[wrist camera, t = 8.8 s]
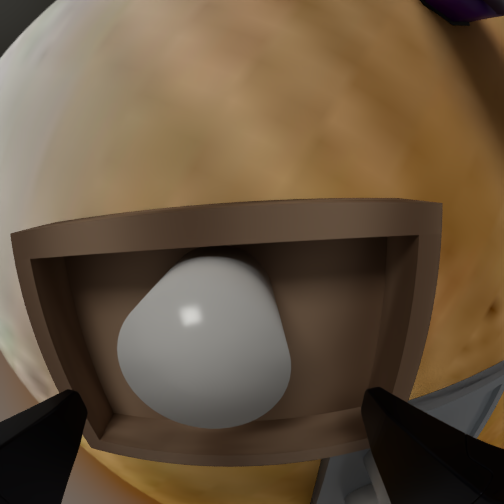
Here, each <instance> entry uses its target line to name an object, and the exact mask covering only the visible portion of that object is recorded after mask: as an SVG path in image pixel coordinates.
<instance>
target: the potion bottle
mask: <svg viewBox="0 0 504 504" xmlns="http://www.w3.org/2000/svg"><path fill="white" fill-rule="evenodd" d="M420 1H421V2H422V4H423V5H425V6H426V7H428V8H429V9H431V10H432V11H434V12H435V13H437V14H438V15H440V16H441V17H442V18H444V19H445V20H446V21H448V22H449V23H450V24H452V25H464V26H470V24H469V22H472V21H477V20H482V19H487V18H493V17H499V16H504V0H420Z"/></svg>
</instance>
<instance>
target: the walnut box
mask: <svg viewBox="0 0 504 504" xmlns="http://www.w3.org/2000/svg"><path fill="white" fill-rule="evenodd" d="M441 233H442V203H436V202H428V201H419V200H409V199H400V198H328V199H293V200H269V201H251V202H234V203H220V204H207V205H194V206H183V207H172V208H162V209H153V210H143V211H135V212H126V213H118V214H110V215H102V216H95V217H88V218H81V219H74V220H68V221H62V222H55V223H51V224H46V225H42V226H38V227H34V228H30V229H26V230H22V231H19V232H15V233H11V241H12V248H13V254H14V259H15V265H16V270H17V274H18V279H19V283H20V287H21V291H22V295H23V299H24V302H25V306H26V309H27V313H28V316H29V319H30V322H31V325H32V328H33V331H34V334H35V337H36V340H37V343H38V345H39V348H40V350H41V353H42V356H43V358H44V360H45V363H46V365H47V368H48V370H49V372H50V374H51V377H52V379H53V381H54V383H55V385H56V387H57V389H58V391H59V393H61V392H63V391H65V390H67V389H70V390H75V391H78V392H79V393H80V395H81V397H82V399H83V401H84V403H85V405H86V407H87V410H88V415H87V419H86V423H85V426H84V430H83V436H84V437H85V439H86V440H87V442H88V444H89V445H90V447H91V448H94V449H97V450H101V451H105V452H109V453H114V454H118V455H123V456H128V457H133V458H138V459H144V460H150V461H157V462H165V463H173V464H184V465H197V466H226V467H234V466H263V465H277V464H287V463H296V462H304V461H311V460H317V459H323V458H329V457H334V456H339V455H344V454H348V453H352V452H357V451H361V450H365V449H368V448H370V445H369V442H368V438H367V434H366V430H365V426H364V422H363V419H362V415H361V406H362V402H363V397H364V393H365V391H366V389H368V388H372V387H377V386H379V387H381V388H383V389H385V390H386V391H388V392H390V393H392V394H393V395H395V396H397V397H399V398H400V399H402V400H404V401H406V402H408V400H409V397H410V394H411V391H412V388H413V385H414V382H415V379H416V375H417V372H418V369H419V365H420V362H421V358H422V354H423V350H424V346H425V342H426V338H427V334H428V329H429V325H430V320H431V315H432V309H433V304H434V298H435V292H436V285H437V277H438V269H439V260H440V248H441ZM222 245H228V246H232V247H235V248H238V249H240V250H243V251H245V252H246V253H248V254H250V255H251V256H252V257H254V258H255V259H256V260H257V261H258V262H259V263H260V264H261V265H262V267H263V268H264V269H265V271H266V273H267V275H268V276H269V279H270V282H271V285H272V288H273V292H274V296H275V300H276V303H277V307H278V311H279V315H280V319H281V322H282V326H283V330H284V334H285V338H286V341H287V345H288V349H289V354H290V359H291V374H290V380H289V383H288V386H287V388H286V390H285V392H284V394H283V396H282V397H281V399H280V400H279V401H278V403H277V404H276V405H275V406H274V407H273V408H272V409H271V410H269V411H268V412H267V413H265V414H264V415H262V416H261V417H259V418H257V419H255V420H253V421H251V422H249V423H246V424H243V425H239V426H235V427H230V428H221V429H208V428H199V427H193V426H188V425H185V424H181V423H178V422H176V421H173V420H171V419H169V418H167V417H165V416H163V415H161V414H159V413H158V412H156V411H154V410H153V409H152V408H150V407H149V406H148V405H146V404H145V403H144V402H143V401H142V400H141V399H140V398H139V397H138V396H137V395H136V394H135V393H134V391H133V390H132V389H131V387H130V386H129V384H128V383H127V381H126V379H125V377H124V376H123V373H122V371H121V368H120V365H119V360H118V354H117V343H118V336H119V332H120V329H121V327H122V325H123V323H124V321H125V319H126V318H127V316H128V315H129V314H130V312H131V311H132V310H133V309H134V308H135V307H136V306H137V305H138V304H139V302H140V301H141V300H142V299H143V298H144V297H145V296H146V295H147V294H148V292H149V291H150V290H151V289H152V288H153V287H154V286H155V285H156V284H157V283H158V282H159V281H160V279H161V278H162V277H163V276H164V275H165V274H166V273H167V272H168V271H169V270H170V269H171V268H172V267H173V266H174V265H175V263H176V262H177V261H178V260H179V259H180V258H181V257H183V256H184V255H185V254H187V253H188V252H190V251H192V250H194V249H196V248H199V247H206V246H222Z"/></svg>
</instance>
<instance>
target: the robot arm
mask: <svg viewBox="0 0 504 504" xmlns="http://www.w3.org/2000/svg"><path fill="white" fill-rule="evenodd" d="M87 415H88V410H87V407H86V405H85V403H84V401H83V399H82V397H81V395H80V393H79V392H78V391H75V390H70V389H67V390H65V391H63V392H61V393H59V394H57V395H55V396H53V397H51V398H49V399H47V400H45V401H43V402H41V403H39V404H37V405H35V406H33V407H31V408H29V409H27V410H25V411H23V412H21V413H18V414H16V415H14V416H12V417H10V418H8V419H6V420H4V421H2V422H0V504H61V502H62V499H63V495H64V492H65V489H66V485H67V482H68V479H69V476H70V473H71V470H72V467H73V464H74V461H75V458H76V456H77V453H78V449H79V446H80V442H81V438H82V434H83V430H84V426H85V423H86V419H87ZM361 415H362V419H363V422H364V426H365V430H366V434H367V438H368V442H369V445H370V449H371V453H372V456H373V458H374V461H375V463H376V466H377V468H378V471H379V474H380V476H381V479H382V481H383V484H384V486H385V489H386V492H387V494H388V497H389V500H390V502H391V504H504V449H501V448H499V447H496V446H493V445H490V444H488V443H485V442H483V441H481V440H479V439H476V438H474V437H472V436H470V435H468V434H465V433H464V432H462V431H460V430H458V429H456V428H454V427H452V426H450V425H448V424H446V423H445V422H443V421H441V420H439V419H437V418H435V417H433V416H431V415H429V414H428V413H426V412H424V411H422V410H420V409H418V408H417V407H415V406H413V405H411V404H409V403H408V402H406V401H404V400H402V399H400V398H399V397H397V396H395V395H393V394H392V393H390V392H388V391H386V390H385V389H383V388H381V387H379V386H377V387H372V388H368V389H366V391H365V393H364V397H363V402H362V406H361Z"/></svg>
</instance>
